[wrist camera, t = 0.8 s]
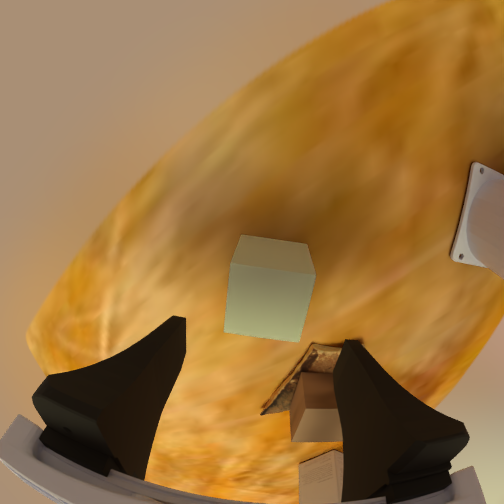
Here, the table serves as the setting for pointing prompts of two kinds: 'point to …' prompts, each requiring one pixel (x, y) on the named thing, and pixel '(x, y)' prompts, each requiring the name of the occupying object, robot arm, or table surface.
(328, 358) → the shard
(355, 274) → the table surface
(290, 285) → the sage block
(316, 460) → the skincare box
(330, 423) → the walnut block
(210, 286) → the table surface
